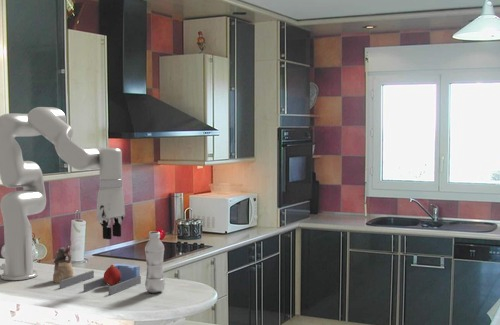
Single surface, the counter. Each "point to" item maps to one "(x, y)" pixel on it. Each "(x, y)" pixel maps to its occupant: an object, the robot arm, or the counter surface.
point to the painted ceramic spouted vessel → (62, 265)
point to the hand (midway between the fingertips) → (112, 237)
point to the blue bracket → (128, 271)
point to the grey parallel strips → (99, 282)
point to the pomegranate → (112, 275)
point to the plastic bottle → (154, 263)
